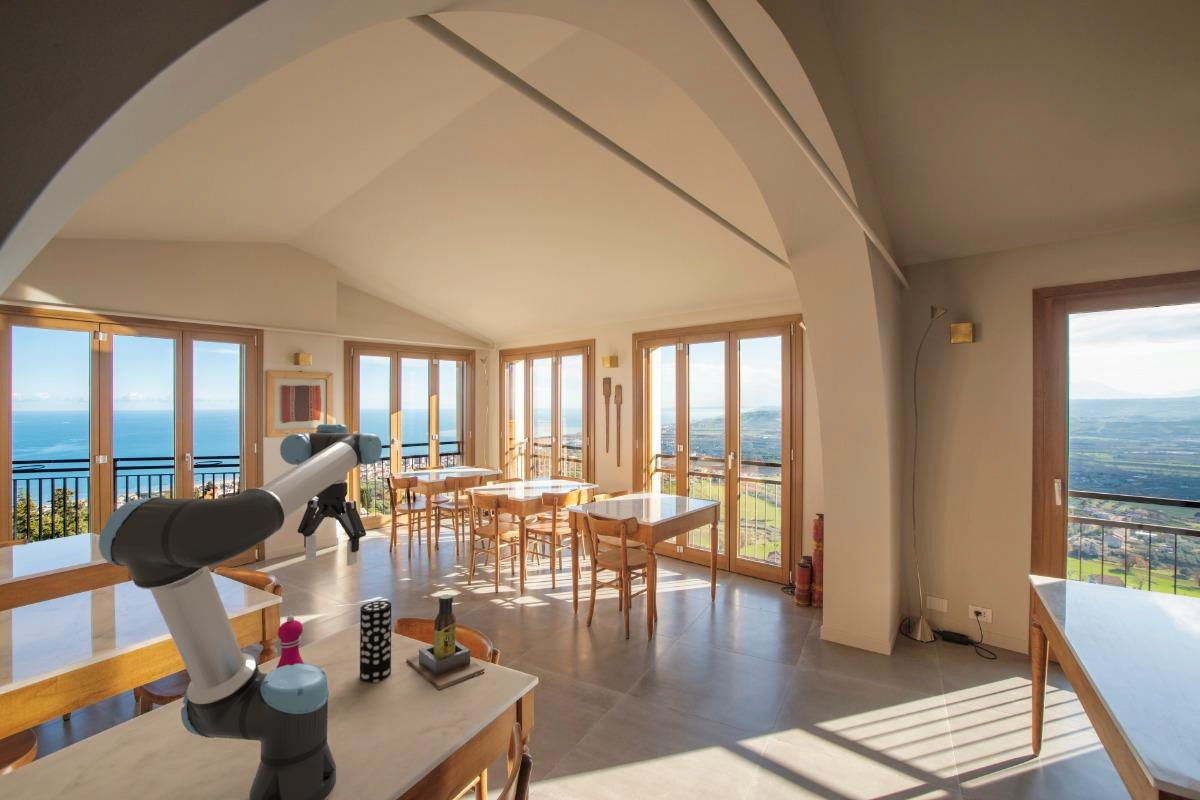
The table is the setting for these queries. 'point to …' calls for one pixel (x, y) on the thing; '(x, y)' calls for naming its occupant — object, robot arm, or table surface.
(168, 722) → the table surface
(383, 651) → the spotted tube
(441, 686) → the caddy board
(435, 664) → the bottle socket
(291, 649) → the pepper mill
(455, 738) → the table surface
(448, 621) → the sauce bottle
